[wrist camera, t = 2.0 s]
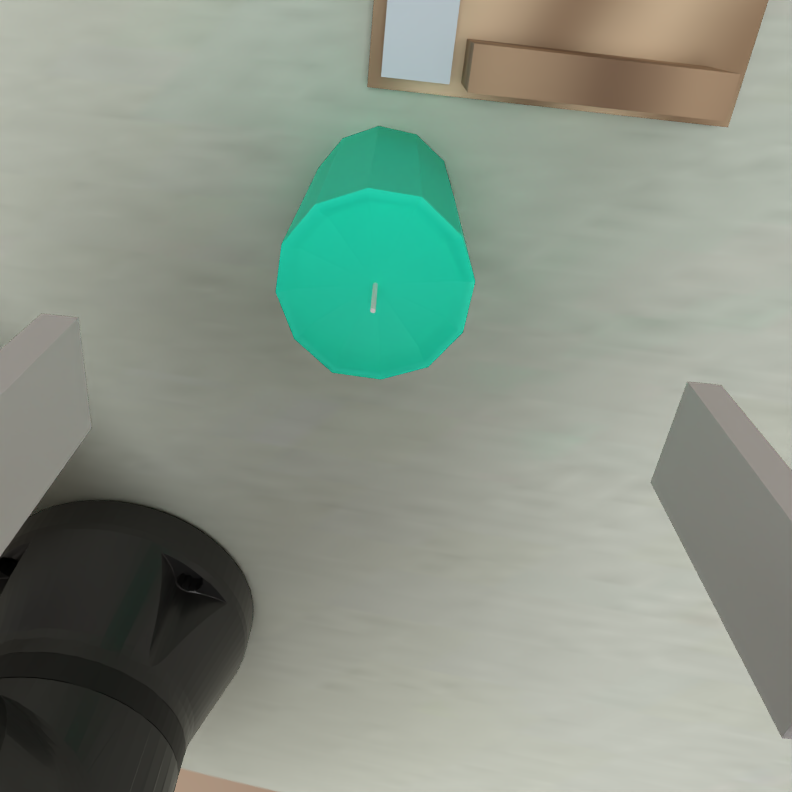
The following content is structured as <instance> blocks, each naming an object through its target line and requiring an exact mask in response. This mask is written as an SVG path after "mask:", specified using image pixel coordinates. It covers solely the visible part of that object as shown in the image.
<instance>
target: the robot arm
mask: <svg viewBox="0 0 792 792" xmlns="http://www.w3.org/2000/svg"><path fill="white" fill-rule="evenodd" d="M91 428H92V425H91V417H90V408H89V400H88V392H87V383H86V375H85V367H84V358H83V350H82V342H81V333H80V325H79V317H70V316H61V315H51V314H42V313H41V314H40V315H39V316H38V317H37V318H36V319H35V320H33V321H32V322H31V323H30V324H29V325H28V326H27V327H25V328H24V329H23V330H22V331H21V332H20V333H19V334H18V335H16V336H15V337H14V338H13V339H12V340H11V341H10V342H9V343H7V344H6V345H5V346H4V347H3V348H2V349H1V350H0V792H174V790H175V786H176V783H177V779H178V775H179V772H180V768H181V765H182V761H183V758H184V755H185V751H186V748H187V746H188V744H189V742H190V741H191V739H192V738H193V736H194V735H195V733H196V732H197V730H198V729H199V727H200V726H201V724H202V723H203V722H204V720H205V719H206V717H207V716H208V714H209V713H210V711H211V710H212V708H213V707H214V705H215V704H216V702H217V701H218V699H219V698H220V696H221V695H222V694H223V692H224V691H225V689H226V688H227V686H228V685H229V683H230V682H231V680H232V679H233V677H234V676H235V674H236V673H237V671H238V669H239V667H240V665H241V662H242V660H243V658H244V655H245V651H246V647H247V643H248V639H249V635H250V631H251V627H252V621H253V602H252V597H251V593H250V590H249V587H248V584H247V582H246V580H245V578H244V576H243V574H242V573H241V571H240V569H239V568H238V566H237V565H236V563H235V562H234V561H233V560H232V559H231V557H230V556H229V555H228V554H227V553H226V552H225V551H224V550H223V549H222V548H221V547H220V546H219V545H218V544H217V543H215V542H214V541H213V540H212V539H211V538H209V537H208V536H206V535H205V534H204V533H202V532H201V531H199V530H198V529H196V528H194V527H193V526H191V525H189V524H187V523H185V522H184V521H181V520H179V519H177V518H175V517H173V516H170V515H168V514H166V513H163V512H160V511H157V510H154V509H150V508H147V507H143V506H139V505H134V504H129V503H123V502H114V501H81V502H73V503H67V504H62V505H58V506H55V507H51V508H48V509H46V510H43V511H41V512H38V513H36V514H34V515H32V516H31V517H29V515H30V514H31V513H32V511H33V510H34V508H35V507H36V506H37V504H38V503H39V501H40V500H41V498H42V497H43V496H44V494H45V493H46V491H47V490H48V489H49V487H50V486H51V484H52V483H53V482H54V480H55V479H56V477H57V476H58V475H59V473H60V472H61V470H62V469H63V468H64V466H65V465H66V463H67V462H68V461H69V459H70V458H71V456H72V455H73V454H74V452H75V451H76V449H77V448H78V447H79V445H80V444H81V442H82V441H83V440H84V438H85V437H86V435H87V434H88V433H89V431H90V430H91ZM651 484H652V486H653V488H654V490H655V492H656V494H657V496H658V498H659V500H660V501H661V503H662V505H663V507H664V509H665V511H666V513H667V515H668V517H669V519H670V521H671V523H672V525H673V527H674V529H675V531H676V533H677V535H678V536H679V538H680V540H681V542H682V544H683V546H684V548H685V550H686V552H687V554H688V556H689V558H690V560H691V562H692V564H693V566H694V568H695V570H696V571H697V573H698V575H699V577H700V579H701V581H702V583H703V585H704V587H705V589H706V591H707V593H708V595H709V597H710V599H711V601H712V603H713V605H714V607H715V608H716V610H717V612H718V614H719V616H720V618H721V620H722V622H723V624H724V626H725V628H726V630H727V632H728V634H729V636H730V638H731V640H732V642H733V643H734V645H735V647H736V649H737V651H738V653H739V655H740V657H741V659H742V661H743V663H744V665H745V667H746V669H747V671H748V673H749V675H750V677H751V678H752V680H753V682H754V684H755V686H756V688H757V690H758V692H759V694H760V696H761V698H762V700H763V702H764V704H765V706H766V708H767V710H768V712H769V714H770V715H771V717H772V719H773V721H774V723H775V725H776V727H777V729H778V731H779V733H780V735H781V737H782V738H787V739H792V470H791V469H790V468H789V467H788V465H787V464H786V463H785V462H784V461H783V459H782V458H781V457H780V456H779V454H778V453H777V452H776V451H775V450H774V448H773V447H772V446H771V445H770V444H769V442H768V441H767V440H766V439H765V437H764V436H763V435H762V434H761V433H760V431H759V430H758V429H757V428H756V427H755V425H754V424H753V423H752V422H751V420H750V419H749V418H748V417H747V416H746V414H745V413H744V412H743V411H742V410H741V408H740V407H739V406H738V405H737V403H736V402H735V401H734V400H733V399H732V397H731V396H730V395H729V394H728V393H727V391H726V390H725V389H724V388H723V386H722V385H716V384H707V383H697V382H688V381H687V384H686V387H685V390H684V392H683V395H682V398H681V401H680V403H679V406H678V409H677V412H676V414H675V417H674V420H673V422H672V425H671V428H670V431H669V433H668V436H667V439H666V442H665V444H664V447H663V450H662V453H661V455H660V458H659V461H658V464H657V466H656V469H655V472H654V474H653V477H652V480H651ZM28 517H29V518H28Z"/></svg>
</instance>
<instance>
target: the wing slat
mask: <svg viewBox="0 0 792 792" xmlns="http://www.w3.org/2000/svg"><path fill="white" fill-rule="evenodd" d="M459 6H460V0H387V11H386V23H385V35H384V47H383V59H382V71H381V77H388V78H397V79H406V80H415V81H423V82H432V83H441V84H450V76H451V68H452V60H453V52H454V45H455V37H456V29H457V21H458V14H459Z"/></svg>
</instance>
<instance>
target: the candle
mask: <svg viewBox="0 0 792 792" xmlns="http://www.w3.org/2000/svg"><path fill="white" fill-rule="evenodd" d="M474 285H475V278H474V274H473V270H472V266H471V262H470V258H469V255H468V251H467V247H466V243H465V239H464V235H463V231H462V227H461V223H460V219H459V215H458V211H457V207H456V203H455V199H454V196H453V192H452V188H451V185H450V181H449V178H448V174H447V171H446V167H445V163H444V161H443V160H442V159H441V158H440V157H439V156H438V155H437V154H436V153H435V152H434V151H433V150H432V149H431V148H430V147H429V146H428V145H427V144H426V143H425V142H424V141H423V140H421V139H420V138H419V137H418V136H417V135H416V134H412V133H407V132H403V131H399V130H394V129H390V128H385V127H381V126H377V127H375V128H372V129H369V130H366V131H363V132H360V133H357V134H354V135H351V136H348V137H345V138H343V139H342V140H341V141H340V142H339V144H338V145H337V146H336V147H335V148H334V150H333V151H332V152H331V153H330V155H329V156H328V157H327V158H326V159H325V161H324V162H323V163H322V164H321V165H320V167H319V168H318V170H317V172H316V174H315V176H314V178H313V181H312V183H311V185H310V187H309V189H308V191H307V193H306V195H305V197H304V199H303V201H302V203H301V205H300V207H299V209H298V211H297V213H296V215H295V217H294V219H293V222H292V224H291V226H290V228H289V230H288V232H287V234H286V236H285V238H284V240H283V242H282V244H281V252H280V260H279V268H278V276H277V284H276V294H277V297H278V299H279V302H280V304H281V307H282V309H283V312H284V314H285V317H286V319H287V322H288V324H289V327H290V329H291V332H292V334H293V337H294V339H295V340H296V341H297V342H298V343H300V344H301V345H302V346H303V347H304V348H305V349H306V350H307V351H309V352H310V353H311V354H312V355H313V356H314V357H315V358H316V359H318V360H319V361H320V362H321V363H322V364H323V365H324V366H325V367H327V368H328V369H329V370H330V371H331V372H332V373H338V374H345V375H353V376H360V377H367V378H374V379H385V378H389V377H392V376H396V375H400V374H404V373H408V372H411V371H415V370H419V369H423V368H427V367H429V366H430V365H431V364H432V363H433V362H434V361H435V360H436V359H437V358H438V357H439V356H440V355H441V354H442V353H443V352H444V351H445V350H446V349H447V348H448V347H449V346H450V345H451V344H452V343H453V342H454V341H455V340H456V339H457V338H458V337H459V336H460V335H461V334H462V333H463V330H464V326H465V322H466V318H467V314H468V309H469V305H470V301H471V297H472V293H473V289H474Z"/></svg>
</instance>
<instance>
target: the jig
mask: <svg viewBox="0 0 792 792" xmlns="http://www.w3.org/2000/svg"><path fill="white" fill-rule="evenodd" d="M767 3H768V0H460V6H459V14H458V21H457V29H456V37H455V45H454V52H453V60H452V68H451V76H450V84H441V83H432V82H423V81H415V80H406V79H397V78H388V77H381V71H382V59H383V47H384V35H385V23H386V11H387V0H374V5H373V18H372V31H371V45H370V58H369V71H368V84H367V87H372V88H381V89H390V90H399V91H408V92H417V93H426V94H435V95H444V96H453V97H462V98H471V99H480V100H489V101H498V102H507V103H516V104H524V105H533V106H542V107H551V108H560V109H569V110H578V111H587V112H596V113H605V114H614V115H623V116H632V117H641V118H650V119H659V120H668V121H677V122H686V123H695V124H704V125H713V126H722V127H728V125H729V122H730V119H731V116H732V113H733V110H734V107H735V103H736V100H737V97H738V94H739V91H740V88H741V85H742V81H743V78H744V75H745V72H746V69H747V66H748V63H749V60H750V56H751V53H752V50H753V47H754V44H755V41H756V38H757V34H758V31H759V28H760V25H761V22H762V19H763V16H764V12H765V9H766V6H767Z"/></svg>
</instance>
